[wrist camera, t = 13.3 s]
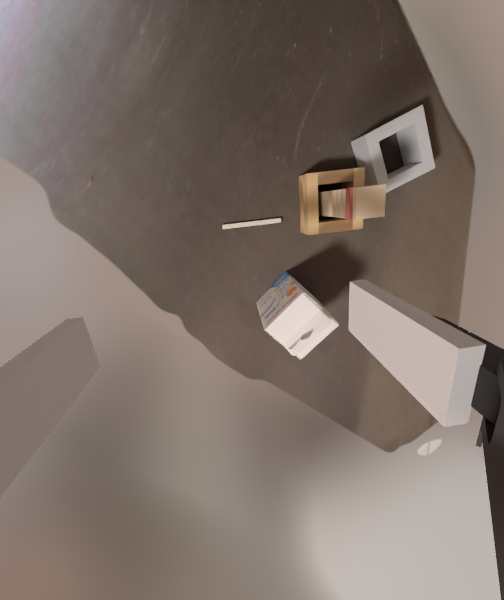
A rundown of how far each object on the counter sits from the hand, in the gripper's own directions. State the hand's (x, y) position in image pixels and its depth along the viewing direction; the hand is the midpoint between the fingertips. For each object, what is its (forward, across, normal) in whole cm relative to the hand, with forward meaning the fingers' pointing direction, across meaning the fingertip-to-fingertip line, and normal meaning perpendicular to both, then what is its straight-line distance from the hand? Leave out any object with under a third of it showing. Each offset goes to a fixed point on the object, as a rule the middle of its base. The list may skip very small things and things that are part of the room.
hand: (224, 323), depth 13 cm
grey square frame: (+35, +28, +10) cm, 46 cm away
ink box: (+35, +10, -13) cm, 39 cm away
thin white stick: (+35, +5, +2) cm, 35 cm away
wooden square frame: (+35, +18, +4) cm, 39 cm away
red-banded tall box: (+35, +18, +4) cm, 39 cm away
